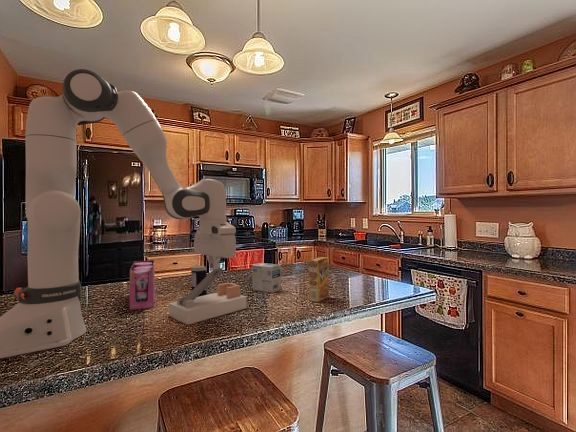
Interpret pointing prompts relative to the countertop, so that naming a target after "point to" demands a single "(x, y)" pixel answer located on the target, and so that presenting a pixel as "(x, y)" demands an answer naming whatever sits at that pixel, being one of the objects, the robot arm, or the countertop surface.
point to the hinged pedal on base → (209, 304)
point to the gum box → (142, 284)
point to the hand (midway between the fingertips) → (213, 268)
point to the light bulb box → (266, 277)
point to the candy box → (318, 279)
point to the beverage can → (198, 277)
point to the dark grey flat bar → (201, 286)
